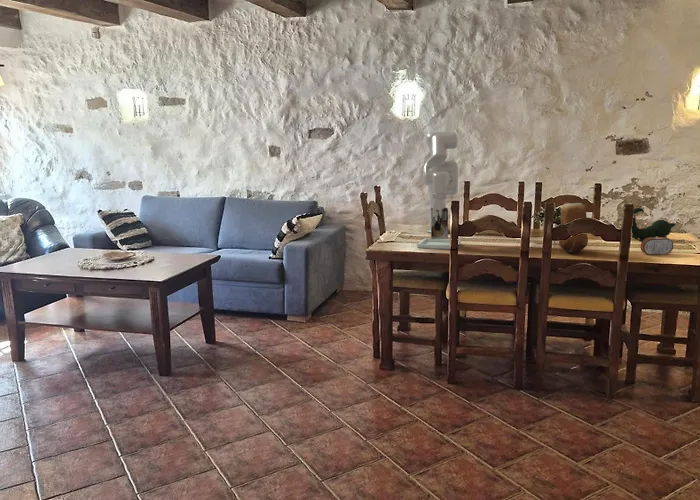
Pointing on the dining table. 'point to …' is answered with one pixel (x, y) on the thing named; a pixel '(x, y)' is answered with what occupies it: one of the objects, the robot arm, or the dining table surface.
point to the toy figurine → (651, 228)
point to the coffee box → (444, 226)
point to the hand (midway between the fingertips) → (439, 228)
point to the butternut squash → (568, 215)
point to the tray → (435, 243)
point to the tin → (657, 246)
